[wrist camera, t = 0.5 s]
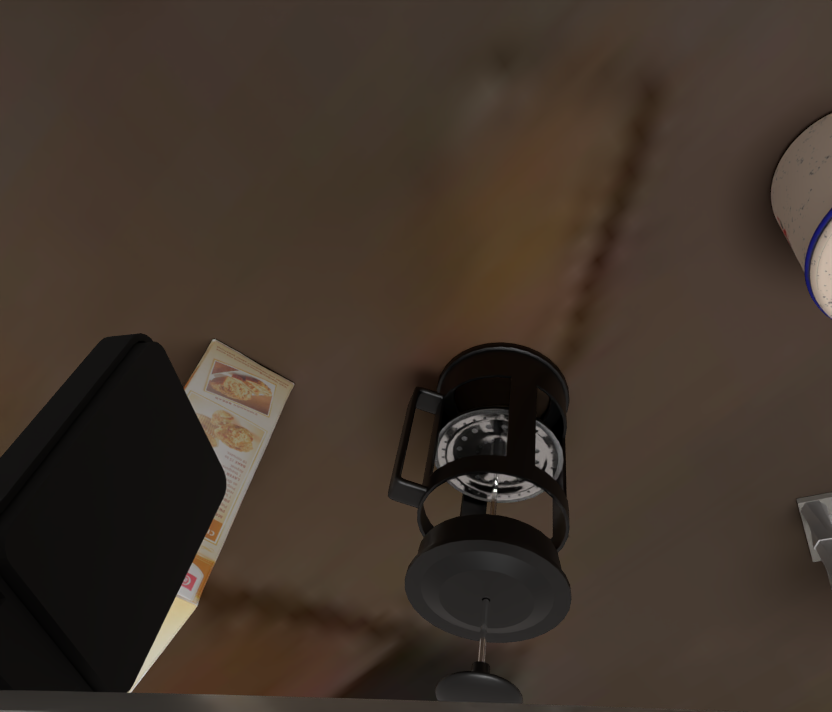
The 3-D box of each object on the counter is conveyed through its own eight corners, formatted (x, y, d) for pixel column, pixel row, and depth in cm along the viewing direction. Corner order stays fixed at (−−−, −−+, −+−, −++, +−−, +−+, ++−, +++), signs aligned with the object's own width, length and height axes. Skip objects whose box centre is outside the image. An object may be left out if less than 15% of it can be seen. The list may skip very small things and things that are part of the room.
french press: (600, 371, 51) (628, 691, 33) (546, 461, 57) (544, 775, 39) (438, 316, 50) (375, 613, 32) (399, 413, 56) (327, 711, 38)
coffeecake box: (212, 335, 54) (78, 551, 39) (299, 382, 56) (202, 608, 40) (148, 452, 63) (17, 667, 47) (224, 490, 64) (121, 710, 49)
